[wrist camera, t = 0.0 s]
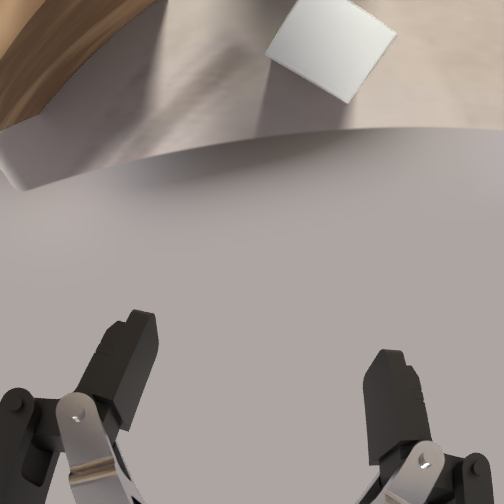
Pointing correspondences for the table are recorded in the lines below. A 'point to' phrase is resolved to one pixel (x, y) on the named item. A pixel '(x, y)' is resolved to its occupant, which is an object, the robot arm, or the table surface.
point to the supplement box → (331, 44)
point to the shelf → (51, 47)
